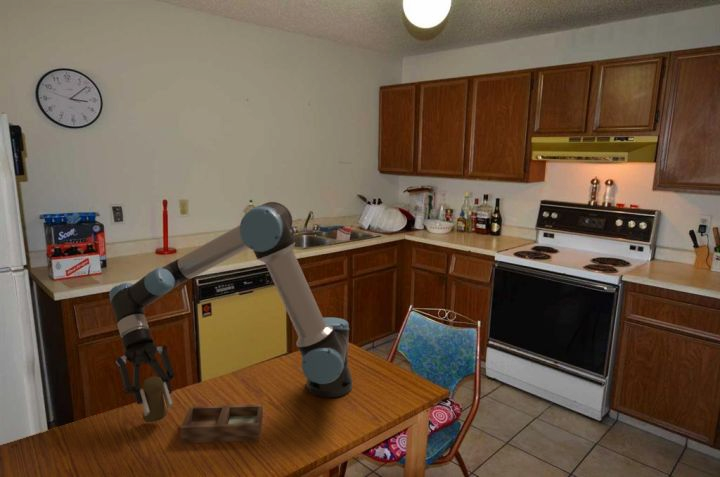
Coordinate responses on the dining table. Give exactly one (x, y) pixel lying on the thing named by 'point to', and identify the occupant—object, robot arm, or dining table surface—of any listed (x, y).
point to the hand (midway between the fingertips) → (158, 409)
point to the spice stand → (222, 423)
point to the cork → (154, 399)
